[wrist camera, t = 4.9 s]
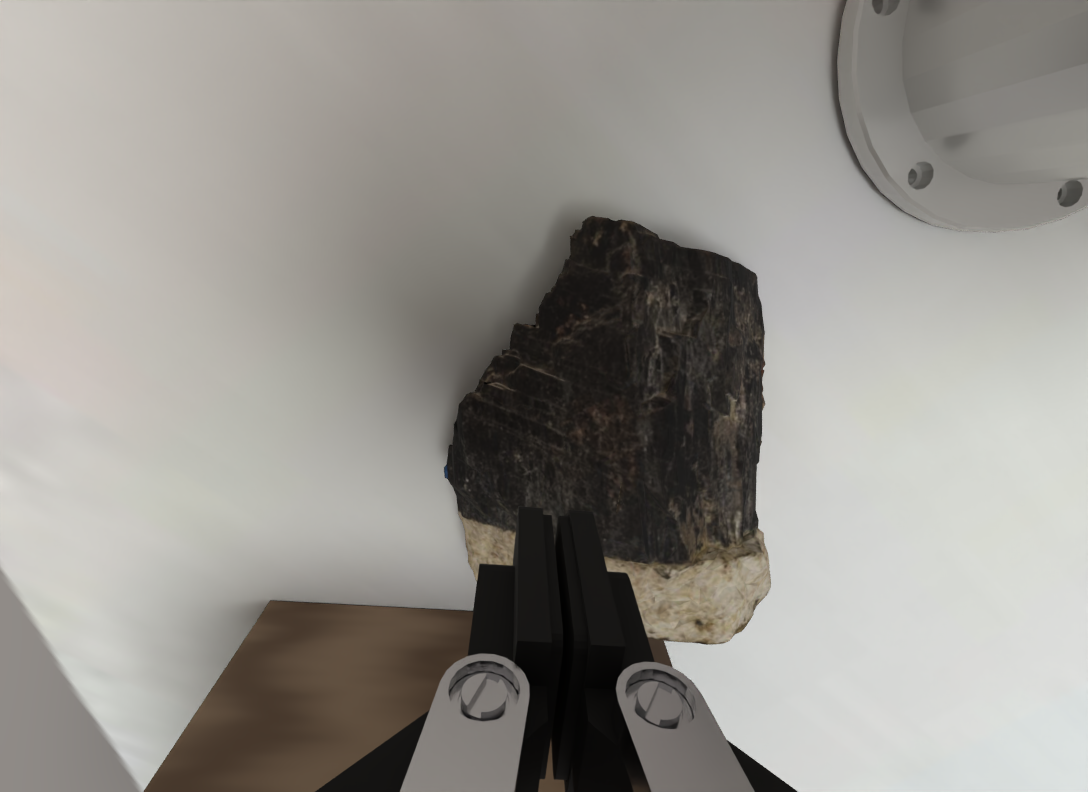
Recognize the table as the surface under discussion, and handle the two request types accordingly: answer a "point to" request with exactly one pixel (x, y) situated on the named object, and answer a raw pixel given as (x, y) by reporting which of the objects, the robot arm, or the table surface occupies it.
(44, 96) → the table surface
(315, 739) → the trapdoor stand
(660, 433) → the mineral specimen
